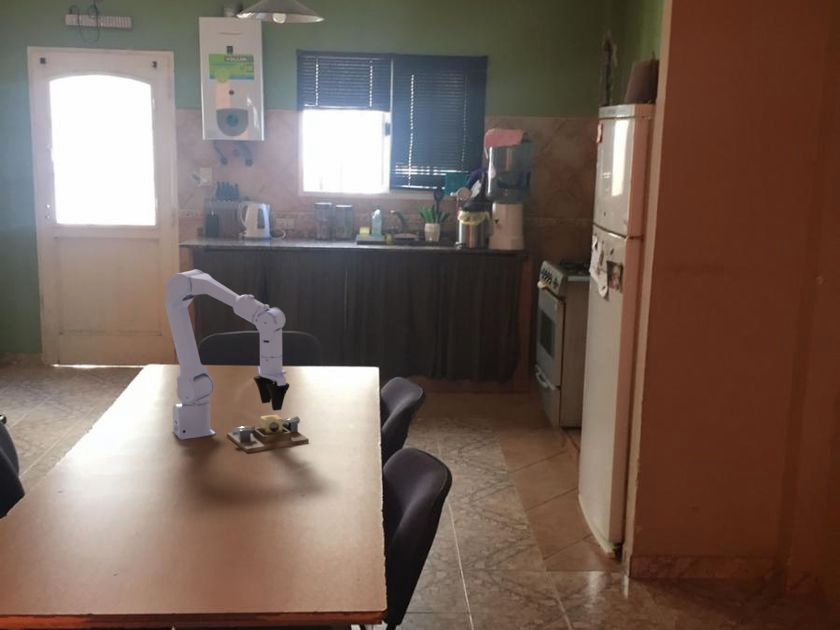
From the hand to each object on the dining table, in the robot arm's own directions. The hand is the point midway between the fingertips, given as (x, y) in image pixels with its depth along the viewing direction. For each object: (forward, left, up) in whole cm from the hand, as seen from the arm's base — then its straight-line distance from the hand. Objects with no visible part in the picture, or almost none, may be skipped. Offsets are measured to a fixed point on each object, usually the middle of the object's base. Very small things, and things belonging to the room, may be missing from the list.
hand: (271, 406), depth 228 cm
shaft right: (+7, +3, -9) cm, 11 cm away
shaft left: (-7, +2, -9) cm, 11 cm away
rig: (0, +2, -10) cm, 10 cm away
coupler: (0, 0, -9) cm, 9 cm away
